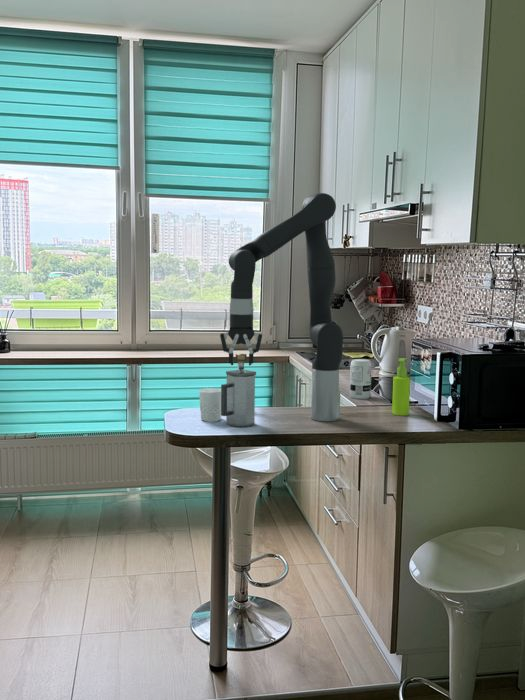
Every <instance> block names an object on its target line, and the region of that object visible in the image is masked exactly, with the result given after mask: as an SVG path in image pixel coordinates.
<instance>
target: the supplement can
mask: <svg viewBox="0 0 525 700" xmlns="http://www.w3.org/2000/svg"><path fill="white" fill-rule="evenodd" d="M372 366H373V365H372V362H371V360H370V359H366V358H354V359H353V358H352V360H351V362H350V372H349V373H350V374H349V375H350V376H349V377H350V378H349V397H350V398H352V399H355V400H356V399H357V400H367V399H369V398H370V397H371V395H372V394H371V393H372V392H371V391H372V389H371V388H372Z"/></svg>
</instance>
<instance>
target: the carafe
mask: <svg viewBox="0 0 525 700" xmlns="http://www.w3.org/2000/svg"><path fill="white" fill-rule="evenodd" d="M225 375H226V383H224V384H221V387H220V389H221V417H225V418H226V422H225V423H226V426H227V427H230V428H238V429H239V428H241V429H243V428H250V427H254V426H255V417H256V416H255V414H256V410H255V406H256V404H255V403H256V401H255V400H256V399H255V396H256V395H255V394H256V376H257V371H253V370H248V369H243V372H239V369H234V370H227V371H225Z"/></svg>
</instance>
